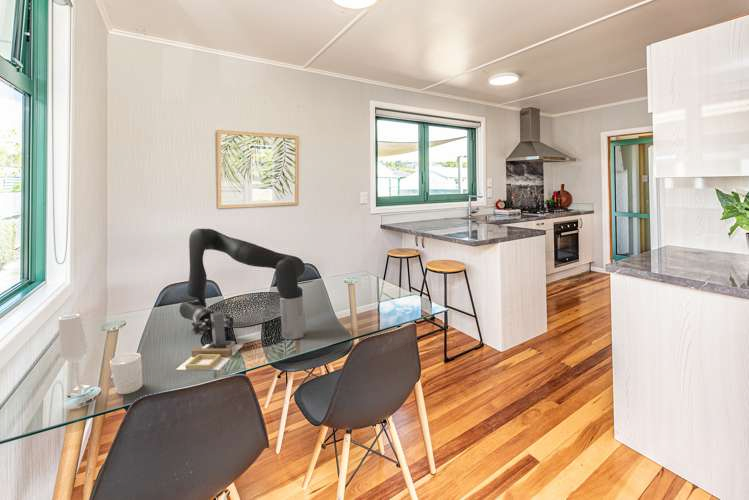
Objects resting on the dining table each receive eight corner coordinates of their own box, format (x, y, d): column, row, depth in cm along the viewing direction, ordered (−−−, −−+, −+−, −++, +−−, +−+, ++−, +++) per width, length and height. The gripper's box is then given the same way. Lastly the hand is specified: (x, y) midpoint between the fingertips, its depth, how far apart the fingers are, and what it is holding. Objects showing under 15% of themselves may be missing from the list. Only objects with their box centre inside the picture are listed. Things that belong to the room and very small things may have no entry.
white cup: (126, 382, 115) (122, 352, 113) (150, 381, 115) (146, 352, 113) (107, 395, 107) (102, 364, 106) (133, 395, 107) (129, 364, 105)
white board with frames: (206, 346, 141) (205, 338, 140) (244, 346, 140) (243, 338, 140) (175, 372, 121) (174, 362, 120) (219, 372, 120) (218, 362, 119)
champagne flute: (60, 396, 107) (47, 320, 103) (82, 385, 114) (70, 312, 110) (79, 398, 106) (67, 321, 102) (100, 386, 112) (89, 313, 109)
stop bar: (223, 346, 139) (219, 311, 136) (226, 349, 136) (223, 313, 134) (213, 348, 136) (210, 313, 134) (216, 351, 134) (213, 315, 131)
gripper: (185, 313, 140) (198, 323, 128) (222, 305, 150) (237, 314, 138) (187, 331, 142) (200, 343, 130) (224, 322, 151) (239, 333, 139)
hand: (219, 328), depth 134 cm, fingers open, 8 cm apart
